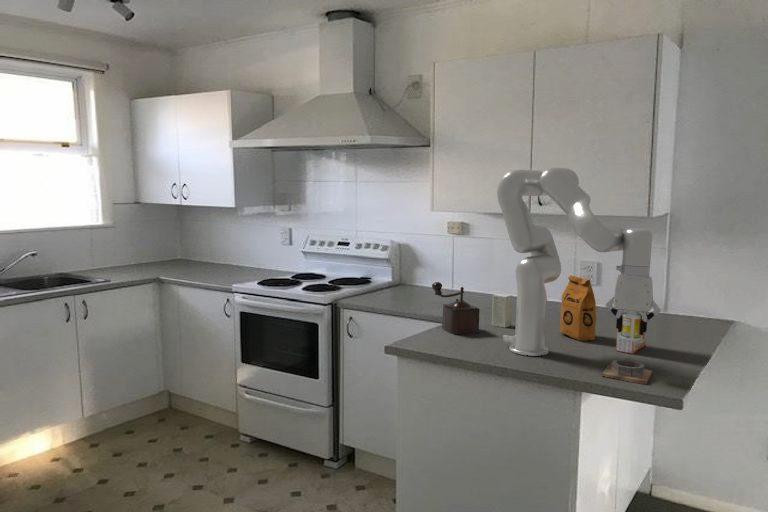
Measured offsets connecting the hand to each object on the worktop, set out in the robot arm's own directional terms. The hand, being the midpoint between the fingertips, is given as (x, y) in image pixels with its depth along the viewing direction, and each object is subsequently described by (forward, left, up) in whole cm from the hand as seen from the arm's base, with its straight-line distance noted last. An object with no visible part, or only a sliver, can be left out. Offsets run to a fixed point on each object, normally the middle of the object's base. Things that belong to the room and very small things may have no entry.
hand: (631, 332), depth 180 cm
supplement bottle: (0, 0, -2) cm, 2 cm away
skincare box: (-52, +37, -13) cm, 65 cm away
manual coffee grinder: (-64, +18, -13) cm, 68 cm away
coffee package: (-23, +37, -13) cm, 46 cm away
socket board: (0, 0, -13) cm, 13 cm away
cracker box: (-4, +32, -13) cm, 35 cm away
